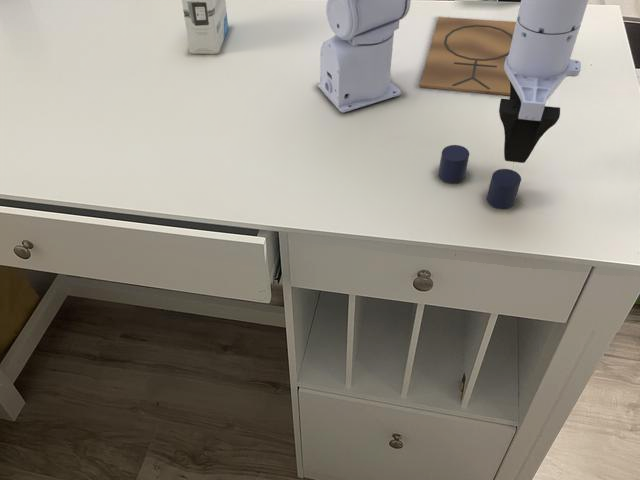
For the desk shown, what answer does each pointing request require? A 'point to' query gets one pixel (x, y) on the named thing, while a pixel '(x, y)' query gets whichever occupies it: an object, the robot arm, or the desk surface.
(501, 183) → the dot
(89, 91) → the desk surface
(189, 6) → the ink box
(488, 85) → the sheet
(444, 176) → the dot
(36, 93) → the desk surface
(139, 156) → the desk surface
